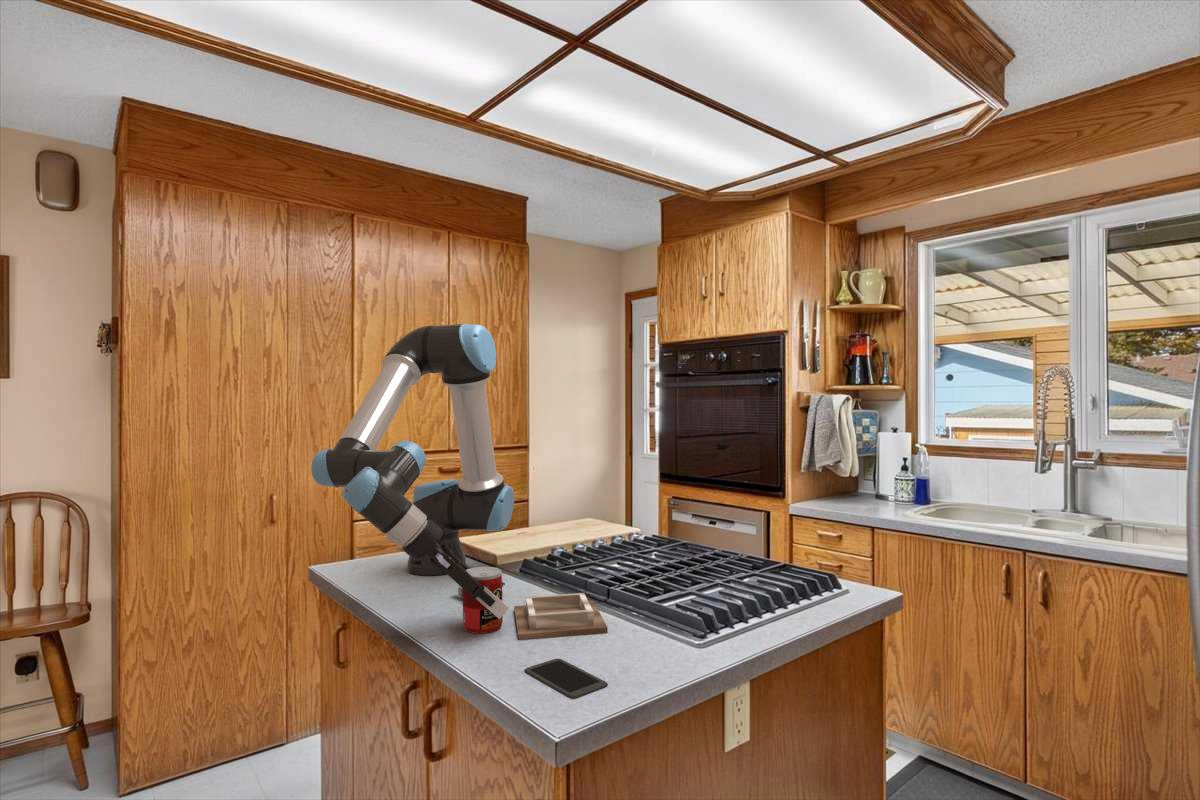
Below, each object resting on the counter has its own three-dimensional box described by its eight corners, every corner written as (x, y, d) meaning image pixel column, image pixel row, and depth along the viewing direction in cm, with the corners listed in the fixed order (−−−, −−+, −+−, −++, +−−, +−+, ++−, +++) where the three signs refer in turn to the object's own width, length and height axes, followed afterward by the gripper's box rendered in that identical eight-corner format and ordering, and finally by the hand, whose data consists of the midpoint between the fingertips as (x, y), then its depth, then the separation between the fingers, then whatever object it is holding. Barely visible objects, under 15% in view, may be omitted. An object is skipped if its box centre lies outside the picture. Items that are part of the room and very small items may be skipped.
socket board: (514, 610, 142) (513, 594, 142) (593, 605, 145) (592, 589, 145) (518, 639, 125) (518, 621, 125) (607, 632, 128) (607, 614, 128)
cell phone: (572, 702, 100) (572, 697, 100) (522, 673, 111) (522, 668, 111) (610, 688, 105) (609, 683, 105) (558, 661, 116) (558, 657, 116)
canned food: (485, 636, 127) (484, 579, 127) (454, 629, 131) (453, 573, 131) (511, 624, 134) (510, 569, 133) (481, 617, 138) (480, 564, 138)
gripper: (397, 537, 137) (477, 605, 142) (404, 560, 117) (496, 639, 123) (423, 509, 139) (501, 578, 144) (434, 528, 119) (524, 607, 125)
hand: (499, 606), depth 134 cm, fingers closed on canned food, 8 cm apart
